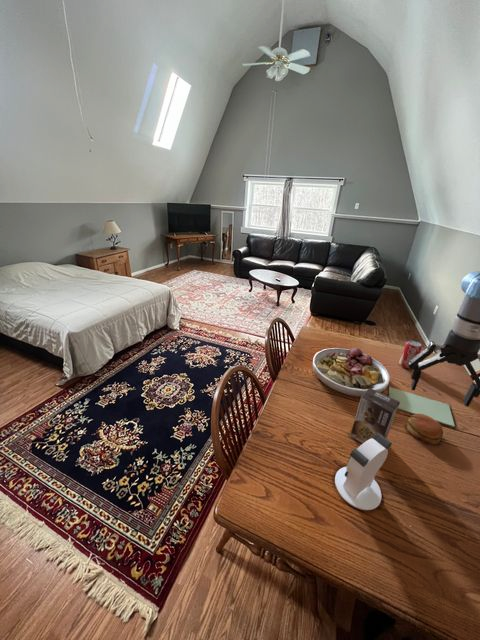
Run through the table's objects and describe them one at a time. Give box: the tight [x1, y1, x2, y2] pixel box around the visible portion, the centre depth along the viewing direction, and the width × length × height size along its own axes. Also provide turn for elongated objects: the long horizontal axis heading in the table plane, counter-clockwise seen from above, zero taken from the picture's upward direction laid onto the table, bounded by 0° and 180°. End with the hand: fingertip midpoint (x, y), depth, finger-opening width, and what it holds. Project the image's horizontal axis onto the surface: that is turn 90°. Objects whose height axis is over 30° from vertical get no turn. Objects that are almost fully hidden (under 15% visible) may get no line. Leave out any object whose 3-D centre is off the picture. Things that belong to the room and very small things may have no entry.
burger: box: [406, 414, 444, 445], centre depth 87 cm, size 10×9×5 cm
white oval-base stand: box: [334, 433, 393, 511], centre depth 67 cm, size 12×11×15 cm
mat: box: [388, 386, 456, 428], centre depth 99 cm, size 20×12×1 cm, turn 63°
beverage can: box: [398, 340, 423, 369], centre depth 121 cm, size 6×6×12 cm
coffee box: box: [349, 388, 400, 444], centre depth 81 cm, size 9×6×16 cm
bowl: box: [312, 347, 391, 398], centre depth 112 cm, size 30×30×8 cm
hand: (438, 395), depth 81 cm, fingers open, 13 cm apart
